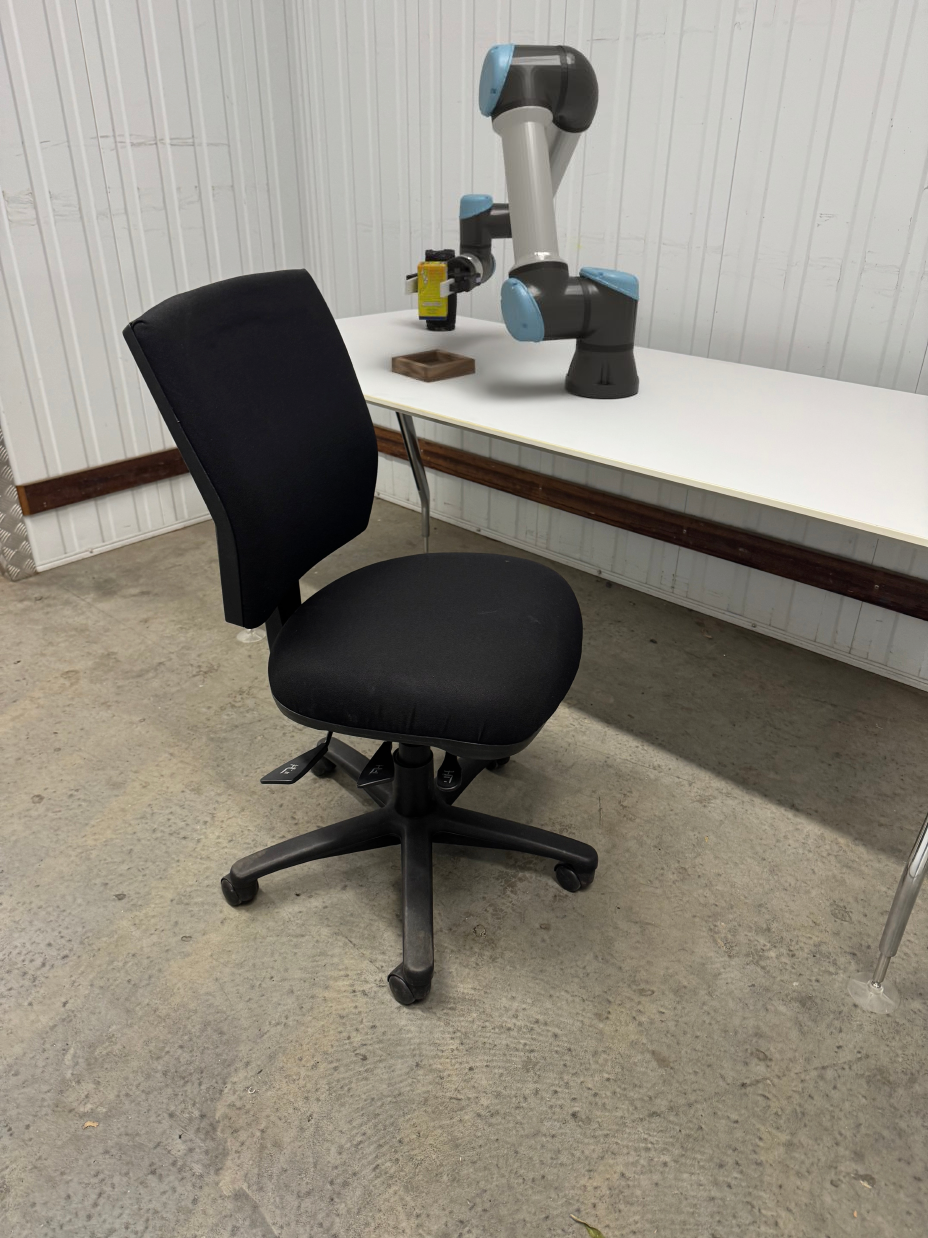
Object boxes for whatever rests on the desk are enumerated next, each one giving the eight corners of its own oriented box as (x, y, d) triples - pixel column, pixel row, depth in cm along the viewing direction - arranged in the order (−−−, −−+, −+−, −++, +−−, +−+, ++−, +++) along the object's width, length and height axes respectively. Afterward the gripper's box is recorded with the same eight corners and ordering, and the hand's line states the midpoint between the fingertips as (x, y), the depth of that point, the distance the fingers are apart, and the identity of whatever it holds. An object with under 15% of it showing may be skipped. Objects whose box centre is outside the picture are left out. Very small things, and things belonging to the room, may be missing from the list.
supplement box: (420, 314, 194) (419, 260, 188) (448, 314, 193) (447, 261, 188) (418, 320, 188) (416, 264, 183) (446, 320, 188) (445, 265, 183)
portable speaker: (453, 324, 243) (453, 247, 234) (459, 331, 235) (459, 252, 226) (422, 325, 242) (421, 248, 232) (427, 332, 234) (426, 252, 224)
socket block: (474, 372, 196) (475, 358, 194) (429, 382, 188) (428, 368, 187) (437, 362, 204) (437, 348, 203) (392, 371, 197) (391, 357, 195)
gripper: (503, 293, 201) (469, 311, 183) (420, 288, 207) (380, 304, 188) (503, 257, 198) (470, 272, 179) (420, 253, 204) (378, 267, 185)
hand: (424, 288), depth 184 cm, fingers closed on supplement box, 7 cm apart
